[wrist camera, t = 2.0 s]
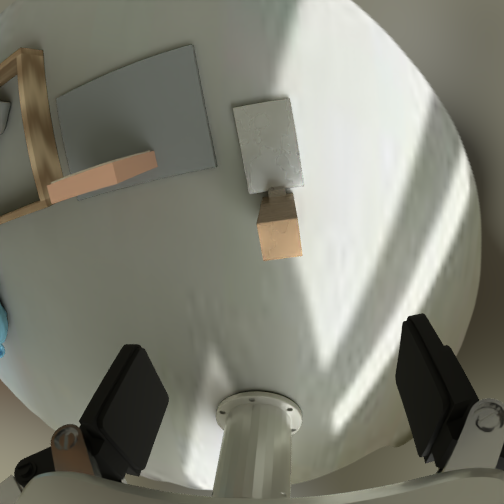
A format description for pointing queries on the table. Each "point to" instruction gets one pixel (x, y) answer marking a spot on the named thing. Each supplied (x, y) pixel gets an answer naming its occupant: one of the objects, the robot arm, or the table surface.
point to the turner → (272, 173)
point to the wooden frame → (34, 124)
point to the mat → (139, 119)
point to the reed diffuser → (3, 114)
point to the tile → (101, 176)
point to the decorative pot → (3, 329)
